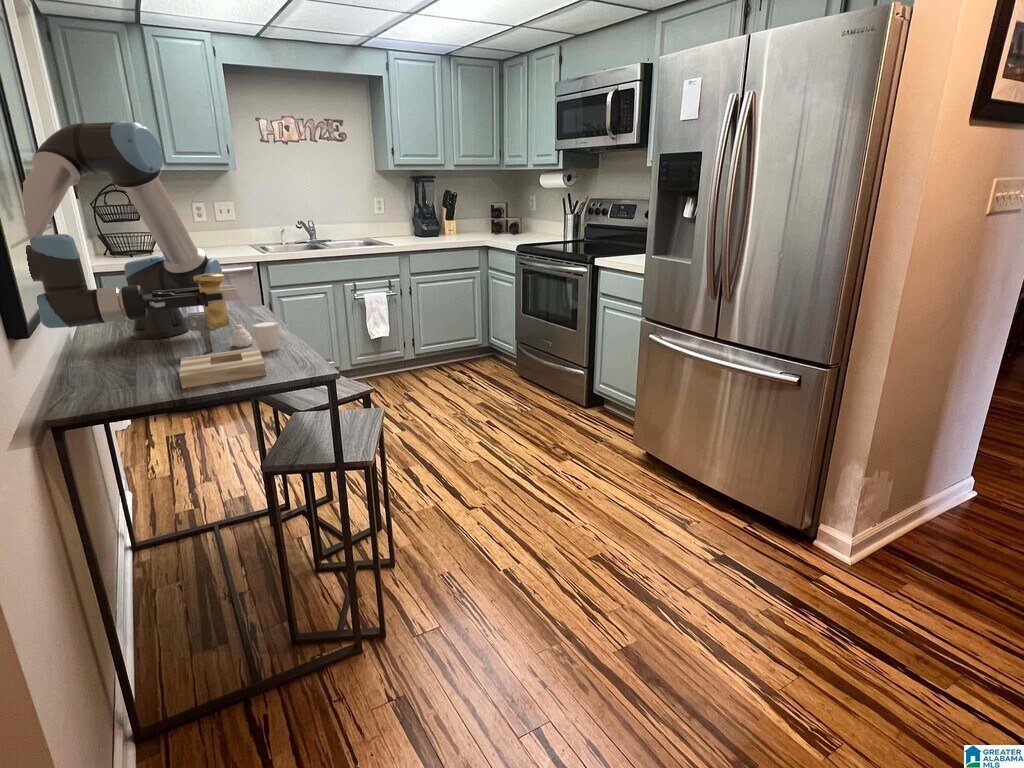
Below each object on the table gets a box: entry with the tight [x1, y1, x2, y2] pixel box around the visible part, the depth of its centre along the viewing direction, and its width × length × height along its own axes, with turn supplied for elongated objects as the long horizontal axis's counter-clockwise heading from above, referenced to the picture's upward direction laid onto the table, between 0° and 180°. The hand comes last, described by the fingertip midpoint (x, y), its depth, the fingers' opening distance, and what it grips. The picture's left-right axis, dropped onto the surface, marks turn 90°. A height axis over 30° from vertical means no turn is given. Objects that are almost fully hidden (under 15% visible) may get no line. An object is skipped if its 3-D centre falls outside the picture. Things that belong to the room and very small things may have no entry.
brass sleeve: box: [193, 272, 231, 329], centre depth 141 cm, size 6×6×12 cm
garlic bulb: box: [231, 324, 253, 348], centre depth 169 cm, size 6×6×6 cm
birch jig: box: [178, 346, 267, 389], centre depth 145 cm, size 16×18×3 cm
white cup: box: [251, 321, 281, 352], centre depth 164 cm, size 7×7×7 cm
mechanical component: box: [184, 314, 222, 353], centre depth 162 cm, size 3×10×10 cm, turn 79°
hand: (236, 292), depth 143 cm, fingers closed on brass sleeve, 5 cm apart
